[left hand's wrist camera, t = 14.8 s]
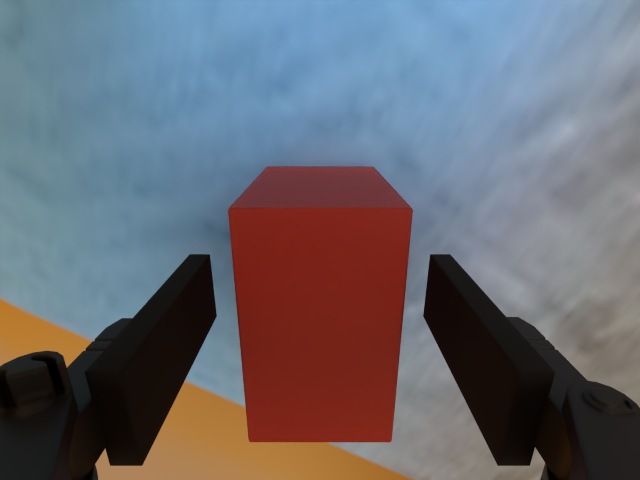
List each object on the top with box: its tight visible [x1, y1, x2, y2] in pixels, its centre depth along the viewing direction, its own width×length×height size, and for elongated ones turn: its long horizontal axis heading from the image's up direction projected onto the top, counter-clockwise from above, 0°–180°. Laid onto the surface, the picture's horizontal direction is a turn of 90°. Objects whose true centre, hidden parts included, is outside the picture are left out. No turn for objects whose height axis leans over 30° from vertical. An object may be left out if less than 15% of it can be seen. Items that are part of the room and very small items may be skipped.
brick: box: [228, 167, 413, 442], centre depth 14 cm, size 5×8×7 cm, turn 0°
